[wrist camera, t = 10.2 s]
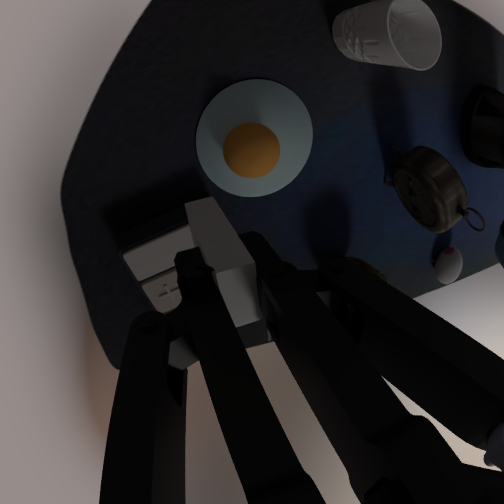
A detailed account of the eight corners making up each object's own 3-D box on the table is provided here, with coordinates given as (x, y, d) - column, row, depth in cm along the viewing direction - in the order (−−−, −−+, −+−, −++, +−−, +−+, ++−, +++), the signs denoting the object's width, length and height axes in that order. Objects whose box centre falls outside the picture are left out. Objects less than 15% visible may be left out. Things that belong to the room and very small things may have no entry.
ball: (214, 121, 26) (246, 112, 30) (208, 174, 30) (239, 158, 34) (268, 139, 25) (294, 127, 29) (257, 195, 28) (283, 176, 32)
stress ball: (429, 262, 59) (456, 273, 56) (423, 282, 54) (453, 294, 50) (439, 231, 55) (468, 242, 52) (435, 249, 50) (466, 261, 46)
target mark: (296, 66, 29) (297, 66, 29) (321, 172, 36) (321, 173, 36) (177, 103, 27) (178, 103, 27) (219, 214, 35) (219, 214, 35)
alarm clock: (414, 194, 43) (495, 244, 30) (390, 213, 43) (471, 271, 30) (397, 133, 37) (496, 173, 24) (369, 153, 37) (469, 201, 24)
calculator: (176, 345, 38) (115, 256, 29) (170, 322, 41) (116, 234, 32) (256, 311, 39) (219, 210, 30) (245, 289, 43) (209, 193, 33)
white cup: (315, 16, 26) (374, 2, 18) (364, -1, 26) (425, -11, 18) (344, 75, 31) (405, 81, 23) (388, 53, 31) (449, 58, 22)
